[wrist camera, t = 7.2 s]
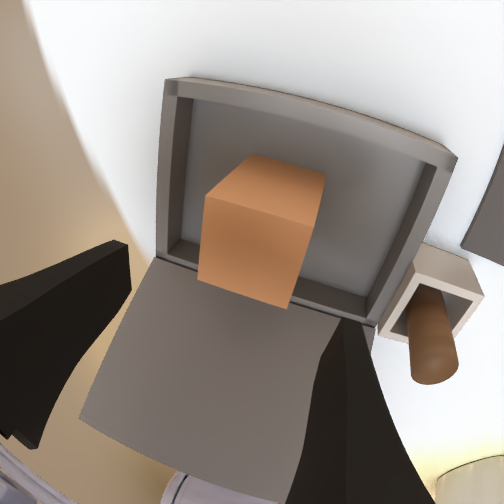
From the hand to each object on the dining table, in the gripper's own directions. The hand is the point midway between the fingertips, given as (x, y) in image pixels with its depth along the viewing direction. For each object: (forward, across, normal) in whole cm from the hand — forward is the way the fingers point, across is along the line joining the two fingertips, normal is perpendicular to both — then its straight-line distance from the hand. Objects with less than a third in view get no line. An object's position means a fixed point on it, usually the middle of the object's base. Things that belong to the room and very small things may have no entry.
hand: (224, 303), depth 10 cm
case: (+9, -3, +2) cm, 10 cm away
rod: (+9, -10, +3) cm, 14 cm away
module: (+9, 0, 0) cm, 9 cm away
